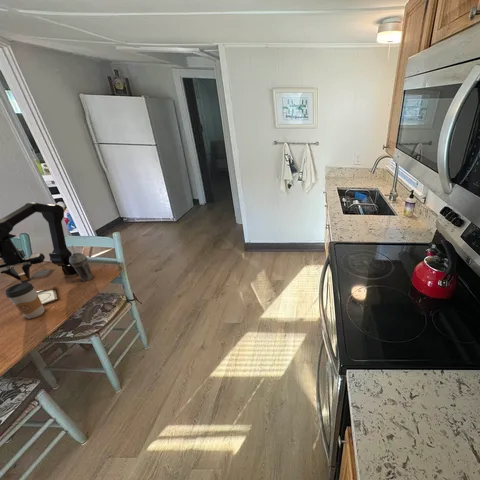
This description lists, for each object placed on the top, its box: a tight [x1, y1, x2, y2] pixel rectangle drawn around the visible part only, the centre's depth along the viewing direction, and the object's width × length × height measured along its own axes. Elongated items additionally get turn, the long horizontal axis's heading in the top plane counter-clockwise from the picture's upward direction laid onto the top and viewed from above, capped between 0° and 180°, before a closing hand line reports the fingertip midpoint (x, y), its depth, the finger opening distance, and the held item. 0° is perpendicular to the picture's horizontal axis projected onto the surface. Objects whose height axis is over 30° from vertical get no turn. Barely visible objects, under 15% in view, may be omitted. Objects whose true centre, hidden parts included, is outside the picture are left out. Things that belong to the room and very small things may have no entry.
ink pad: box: [31, 269, 51, 278], centre depth 148 cm, size 7×7×1 cm
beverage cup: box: [69, 244, 94, 282], centre depth 140 cm, size 7×7×20 cm
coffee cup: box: [5, 282, 45, 320], centre depth 117 cm, size 8×8×15 cm
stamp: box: [18, 272, 32, 283], centre depth 125 cm, size 3×3×4 cm
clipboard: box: [36, 288, 59, 306], centre depth 129 cm, size 12×14×1 cm
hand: (25, 278), depth 125 cm, fingers closed on stamp, 2 cm apart
